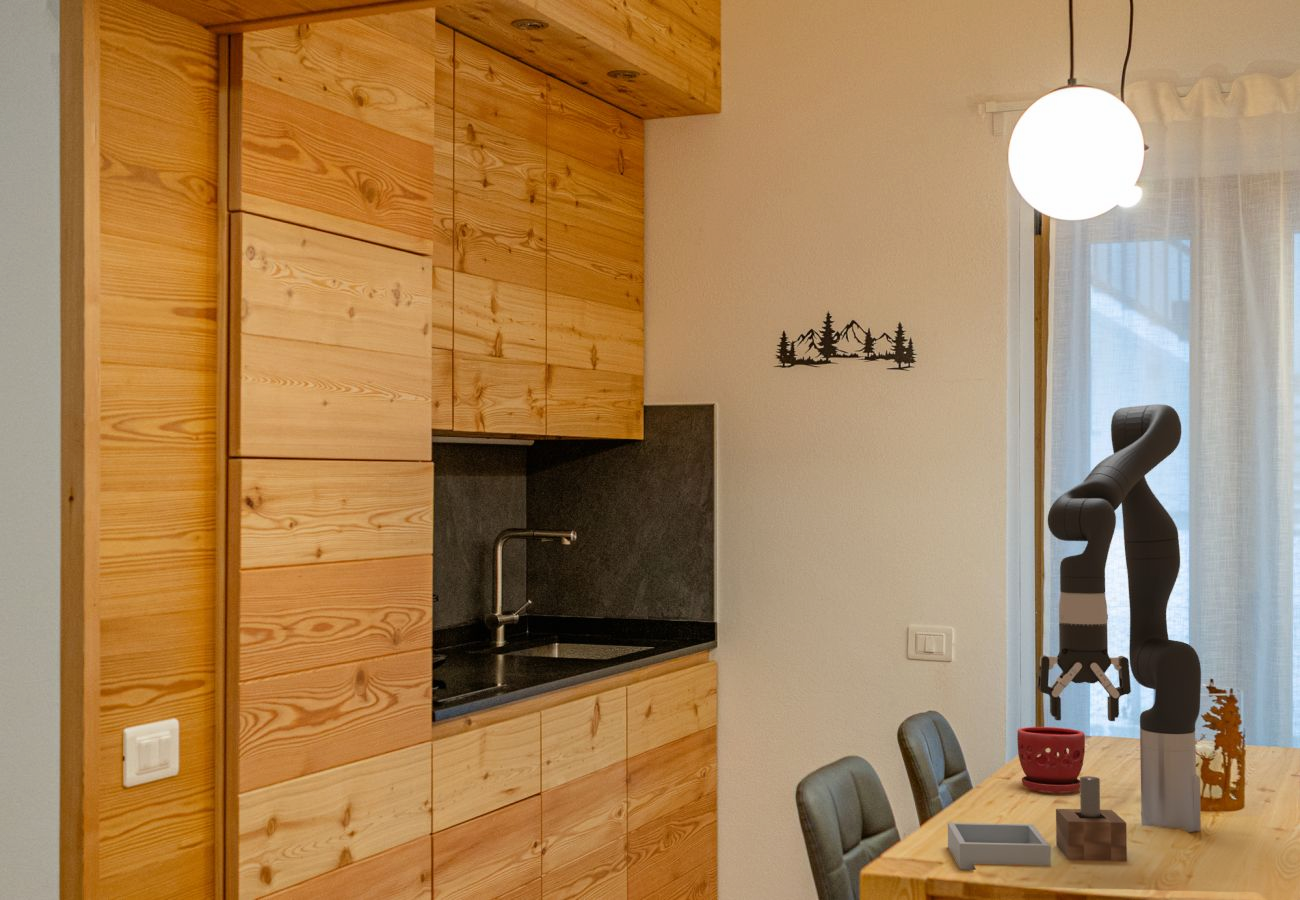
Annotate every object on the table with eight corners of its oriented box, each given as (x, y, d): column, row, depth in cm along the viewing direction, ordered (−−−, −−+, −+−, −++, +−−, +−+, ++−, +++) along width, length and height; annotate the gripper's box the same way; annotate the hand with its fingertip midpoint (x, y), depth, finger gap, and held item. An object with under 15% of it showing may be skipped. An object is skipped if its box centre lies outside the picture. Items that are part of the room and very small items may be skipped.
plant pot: (1098, 794, 264) (1097, 733, 264) (1039, 798, 260) (1038, 736, 261) (1062, 781, 276) (1062, 723, 277) (1005, 784, 273) (1005, 725, 274)
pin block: (1112, 852, 219) (1111, 809, 219) (1126, 867, 210) (1126, 822, 210) (1056, 851, 220) (1055, 808, 220) (1068, 866, 211) (1068, 821, 211)
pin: (1098, 850, 216) (1096, 776, 217) (1102, 855, 213) (1101, 780, 214) (1079, 850, 217) (1078, 776, 217) (1083, 855, 214) (1082, 779, 214)
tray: (1033, 848, 222) (1032, 824, 222) (1050, 871, 208) (1050, 845, 208) (947, 846, 223) (947, 822, 223) (960, 869, 209) (959, 843, 209)
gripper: (1122, 618, 220) (1123, 717, 219) (1034, 618, 222) (1035, 715, 221) (1133, 622, 213) (1135, 724, 212) (1042, 621, 214) (1043, 723, 214)
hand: (1084, 720), depth 217 cm, fingers open, 8 cm apart
